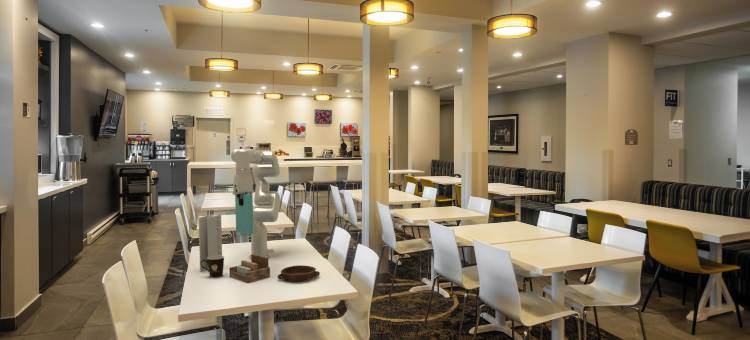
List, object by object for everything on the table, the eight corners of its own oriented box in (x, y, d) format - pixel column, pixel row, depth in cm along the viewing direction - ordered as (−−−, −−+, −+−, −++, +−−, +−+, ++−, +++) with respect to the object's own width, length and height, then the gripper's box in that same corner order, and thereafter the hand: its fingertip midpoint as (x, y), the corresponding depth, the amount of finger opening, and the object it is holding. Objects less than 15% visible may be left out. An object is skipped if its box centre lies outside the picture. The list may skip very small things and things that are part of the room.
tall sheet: (240, 231, 265) (239, 192, 263) (253, 233, 257) (252, 194, 255) (236, 231, 262) (235, 193, 261) (248, 234, 255) (247, 194, 253)
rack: (252, 271, 259) (251, 253, 258) (270, 276, 248) (269, 258, 247) (229, 276, 248) (229, 258, 248) (247, 282, 237) (247, 263, 237)
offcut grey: (240, 276, 250) (240, 265, 249) (251, 280, 243) (251, 268, 243) (237, 277, 248) (236, 266, 248) (248, 280, 241) (247, 269, 241)
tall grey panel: (209, 272, 258) (207, 218, 256) (199, 271, 259) (198, 217, 257) (222, 265, 271) (221, 214, 270) (213, 265, 273) (212, 214, 271)
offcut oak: (244, 274, 253) (244, 260, 252) (257, 278, 245) (257, 263, 244) (241, 275, 251) (241, 260, 251) (254, 279, 243) (254, 264, 243)
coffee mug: (228, 274, 253) (227, 256, 252) (217, 278, 245) (217, 260, 244) (210, 272, 257) (209, 254, 256) (199, 276, 249) (199, 258, 248)
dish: (275, 276, 250) (275, 267, 249) (315, 272, 257) (315, 263, 257) (279, 285, 233) (279, 276, 233) (323, 281, 240) (322, 271, 240)
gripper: (251, 170, 266) (252, 202, 267) (226, 172, 253) (227, 206, 255) (259, 171, 261) (260, 204, 262) (234, 173, 248) (235, 207, 250)
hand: (243, 204), depth 258 cm, fingers closed on tall sheet, 3 cm apart
